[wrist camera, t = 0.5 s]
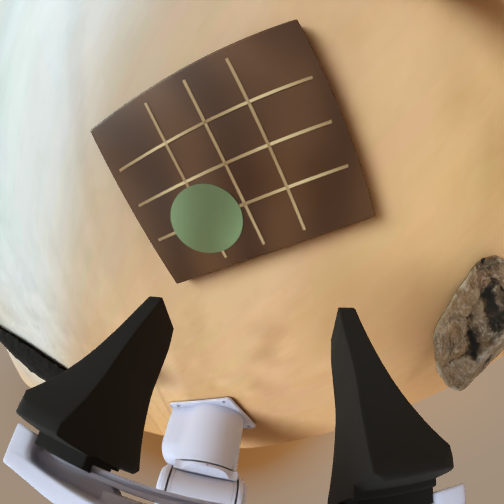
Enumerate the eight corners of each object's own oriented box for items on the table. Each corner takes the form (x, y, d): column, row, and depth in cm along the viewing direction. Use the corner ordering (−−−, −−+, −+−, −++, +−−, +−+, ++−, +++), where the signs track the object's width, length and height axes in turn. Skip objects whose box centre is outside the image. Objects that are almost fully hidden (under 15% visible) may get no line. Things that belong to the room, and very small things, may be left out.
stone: (418, 350, 26) (440, 402, 19) (466, 248, 20) (511, 296, 14) (464, 346, 26) (488, 391, 19) (511, 255, 20) (552, 296, 14)
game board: (181, 276, 24) (176, 284, 23) (98, 128, 19) (89, 130, 17) (371, 209, 20) (376, 216, 19) (296, 23, 14) (296, 18, 13)
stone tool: (69, 407, 36) (-33, 333, 31) (75, 396, 40) (-24, 326, 34) (75, 376, 35) (-34, 297, 30) (82, 365, 38) (-24, 291, 33)
